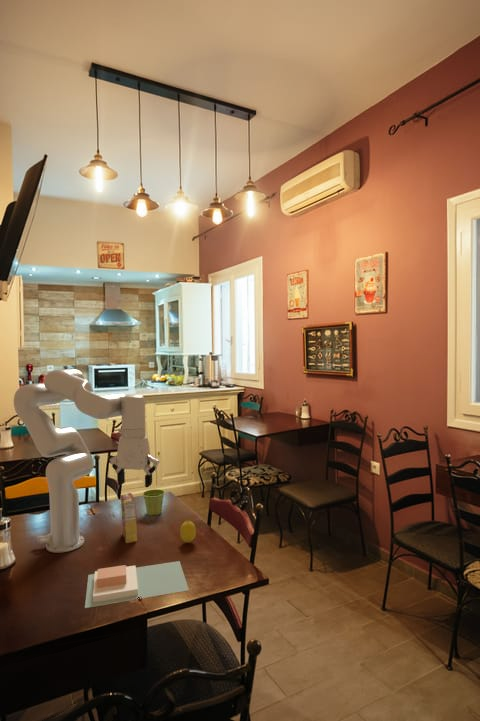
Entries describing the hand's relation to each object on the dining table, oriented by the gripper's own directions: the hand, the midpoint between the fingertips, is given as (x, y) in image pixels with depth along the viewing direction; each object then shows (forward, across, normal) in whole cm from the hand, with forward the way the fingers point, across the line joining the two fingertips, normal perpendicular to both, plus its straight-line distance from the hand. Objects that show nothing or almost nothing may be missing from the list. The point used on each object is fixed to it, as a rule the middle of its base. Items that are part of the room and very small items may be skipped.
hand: (134, 485), depth 142 cm
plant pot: (+25, -12, +40) cm, 48 cm away
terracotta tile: (+23, +1, -16) cm, 28 cm away
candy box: (+25, -11, +15) cm, 31 cm away
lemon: (+25, +12, +16) cm, 32 cm away
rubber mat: (+25, +7, -13) cm, 29 cm away
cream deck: (+24, +2, -16) cm, 29 cm away
